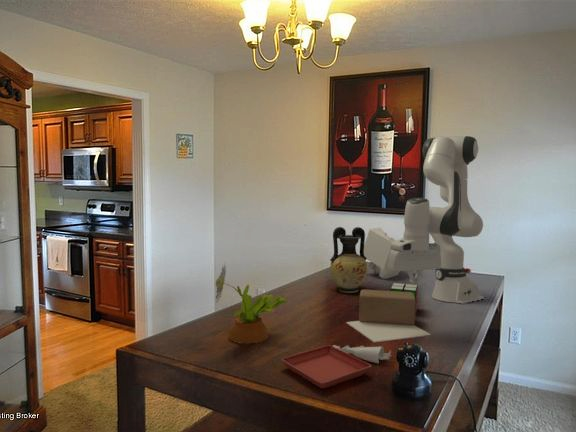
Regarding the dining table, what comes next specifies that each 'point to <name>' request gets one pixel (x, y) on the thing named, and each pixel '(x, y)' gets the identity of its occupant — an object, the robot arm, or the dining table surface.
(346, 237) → the amphora
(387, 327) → the mat
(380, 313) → the block
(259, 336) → the decorative plant
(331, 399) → the dining table surface
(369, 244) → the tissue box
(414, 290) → the puzzle cube
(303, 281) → the dining table surface
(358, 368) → the plant saucer
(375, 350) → the woman figurine
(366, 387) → the dining table surface
